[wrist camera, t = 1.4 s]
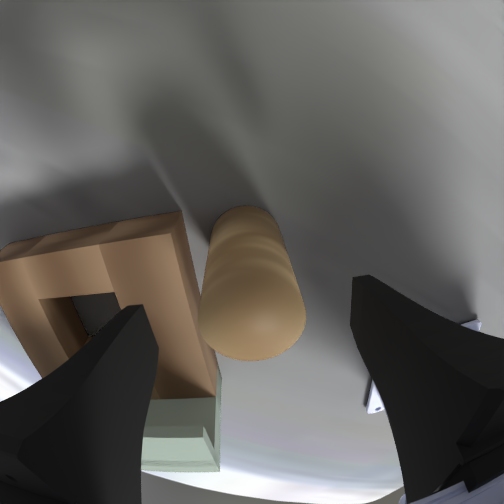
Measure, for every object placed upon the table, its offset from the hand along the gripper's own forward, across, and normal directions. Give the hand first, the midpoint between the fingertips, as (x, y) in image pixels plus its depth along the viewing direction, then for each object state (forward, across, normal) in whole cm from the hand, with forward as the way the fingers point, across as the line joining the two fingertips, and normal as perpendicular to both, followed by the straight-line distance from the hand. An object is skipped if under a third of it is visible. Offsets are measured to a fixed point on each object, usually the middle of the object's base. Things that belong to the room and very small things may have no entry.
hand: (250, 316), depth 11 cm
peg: (+7, 0, 0) cm, 7 cm away
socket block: (+7, +9, +4) cm, 12 cm away
